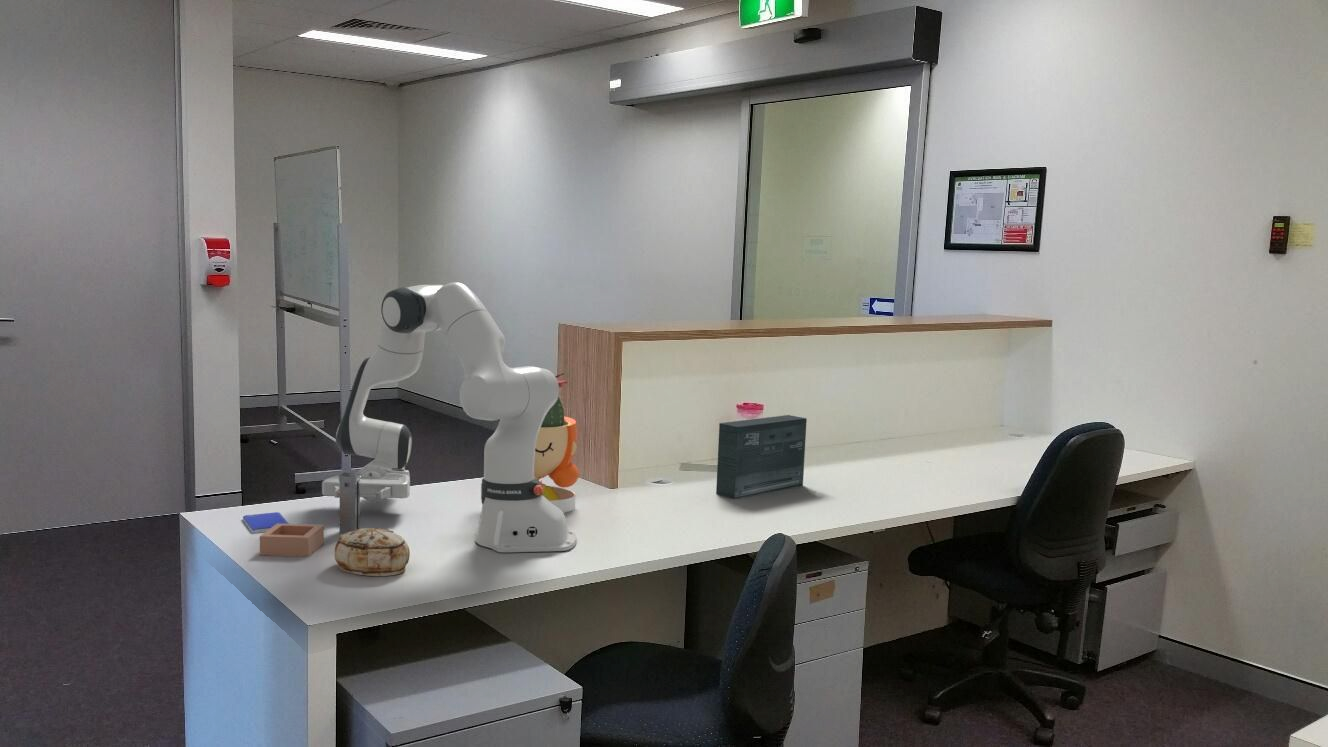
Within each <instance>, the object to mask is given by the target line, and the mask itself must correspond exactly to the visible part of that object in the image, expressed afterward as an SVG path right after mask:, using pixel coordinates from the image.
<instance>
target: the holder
mask: <svg viewBox="0 0 1328 747" xmlns="http://www.w3.org/2000/svg"><path fill="white" fill-rule="evenodd" d="M324 526H325V525H324V524H310V523H309V524H307V523H289V524H280V523H277V524H276V525H274V526H273V527H272V528H270V529H269V530H267V531H266V532H262V533H261V535H259V556H273V557H274V556H279V557H309V556H310V557H311V555H312V554H313V553H314V552H315V551H316V550H318V549H319V548H320V547H321V546H323V544H324V543H325V540H324V538H325V534H324V533H325V528H324Z"/></svg>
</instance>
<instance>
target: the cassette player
mask: <svg viewBox="0 0 1328 747" xmlns="http://www.w3.org/2000/svg"><path fill="white" fill-rule="evenodd" d="M807 420H808V419H807V418H806V417H802V416H795V415H792V414H791V415H790V414H786V415H785V414H784V415H777V416H768V417H760V418H751V419H744V420H735V421H725V422H719V424H718V425H719V428H718V447H717V449H718V450H717V464H716V465H717V470H716V486H715V487H716V490H715V492H716V493H715V494H716V495H718V496H723V497H727V498H729V499H734V500H736V499H737V500H738V499H741V498H742V499H743V498H747V497H752V496H756V495H762V494H767V493H771V492H772V493H774V492H778V491H783V490H786V489H793V488H797V487H802V486H804V473H805V472H804V471H805V455H806V454H805V453H806V436H807Z"/></svg>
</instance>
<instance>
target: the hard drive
mask: <svg viewBox="0 0 1328 747" xmlns="http://www.w3.org/2000/svg"><path fill="white" fill-rule="evenodd" d="M242 520H243V522H244V523H245V525H246V527H247V528H248V529H249V530H250V531H251V533H252V534H258V533H259V534H260V533H265V532H266V531H267V530H269V529H270V528H272V527H273V526H274V525H276V524H277V523H280V524H290V523H289V522H288V521H287V520H286V518H285V517H284V516H283V515H282V514H281V512H278V511H277V512H276V511H275V512H265V513H256V514H246V515H243V516H242Z"/></svg>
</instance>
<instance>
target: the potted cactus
mask: <svg viewBox="0 0 1328 747" xmlns="http://www.w3.org/2000/svg"><path fill="white" fill-rule="evenodd" d="M564 373H565V372H562V373H560V374H558V375H554V376H555V377H556V379H557V378H559V377H561V376H563V375H564ZM557 382H558V385H559V388H563V385H564V384H568V381H567V380H559V379H557ZM562 399H563V396H561V395H558V399H557V401H556V403H555V404H554V405H553V406H552V407H551V408H550V410H549V411H548V412H547V414H546V416H545V418H544V420H543V423H542V425H541V428H540V431H539V434H538V437H537V442H536V448H535V462H534V478H535V479H537V480H538V481H540V480H541V479H543V478H546V477H547V476H548V477H549V478H550V479H551V480H552V481H553V483H554V484H555V485H556V486H552V485H547V484H546V483H543V494H542V496H544V497H545V498H546V499H547V500H549V501H550V502H551V503H553V504H554V505H555V506H556V507H558V508H559V509H560V510H562V512H563V513H564V514H565V513H568V512H572V511H573V510H575V509H576V499H577V498H576V496H577V494H576V493H575V492H574V491H573V490H571V489H568V488H569V487H571V486H573V485H575V484H576V483H577V481H578V479H579V476H580V472H579V469H578V467H577V466H576V464H573V463H572V461H573V460H574V457H575V455H576V451H577V446H578V426H577V421H576V420H575V419H574V418H572V417H568V416H567V414H565V412H564V411H566V410H567V408H565V406H563V405H564V401H563V400H562Z"/></svg>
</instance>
